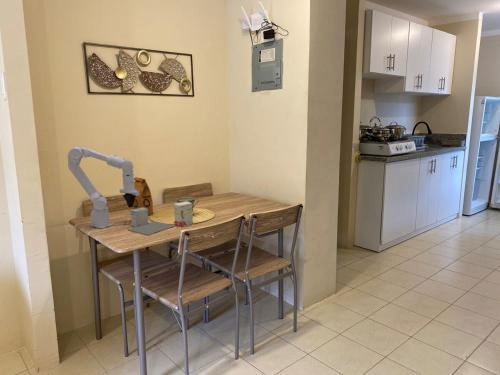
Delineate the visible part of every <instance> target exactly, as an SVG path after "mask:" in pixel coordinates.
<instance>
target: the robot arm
mask: <svg viewBox="0 0 500 375" xmlns="http://www.w3.org/2000/svg"><path fill="white" fill-rule="evenodd" d="M82 158H94V159H97V160H100V161H103V162H105V163H106V164H107V165H108V166H109V167H110V166H111V167H113V168H117V169H119V170H120V169H122V185H123V186H122V187H123V188H121V189H120V188H119V194H123V195H122V196H123V198H124V200H125V202H126V205H127V207H128V208H133V203H134V199H135V197H136V196H138V195H140V192H139V191H136V189H135V187H134V182H135V180H134V178H135V175H134V170H133V169H134V164H133V162H132V161H131V160H129V159H126V158H125V157H120V156H117V154H109V155H107V154H104V153H102V152H99V151H97V150H94V149H91V148H88V147H83V146H80V145H75V146H73V147H71V148H70V149H69V151H68V154H67V164H68V165H67V167H68V170H69V171H70V172H71V173H72V175H73V176H74V177H75V179H76V180H77V181H78V183H79V184H80V185H81V187H82V189H83V190H84V191H85V193H86V194H87V195H88V197H89V198H90V201H91V202H92V204H93V209H92V210H91V211H90V223H91V224H89V226H90V227H93V228H97V229H103V228H106V227H110V226H113V225H114V223H110V215H109V207H108V206H107V204H108V199H107V197H106V196H104V195H102V194H101V192H100V191H99V190H98V189H97V187H96V186H95V185H94V184H93V182H92V181H91V180H90V178H89V177H88V176H87V175H86V173H85V172H84V170H83V169H82V168H81V166H80V164H81V160H82Z"/></svg>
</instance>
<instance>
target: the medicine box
mask: <svg viewBox="0 0 500 375" xmlns="http://www.w3.org/2000/svg"><path fill="white" fill-rule="evenodd" d="M129 213H130V224H131V227H133V228H134V227H138V226H141V225H144V224H147V223H149V215H148V209H146V208H138V209H134V210H133V209H131V210H130V212H129Z"/></svg>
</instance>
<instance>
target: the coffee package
mask: <svg viewBox="0 0 500 375" xmlns="http://www.w3.org/2000/svg"><path fill="white" fill-rule="evenodd" d="M134 187H135V189H136V191H139V192H140V195H138V196H136V197H135V199H134V203H133V207H132V210H134V209H138V208H146V209H148V216H151V215H154V209H153V208H154V207H153V204H154V203H153V198H152V193H151V188H150V187H149V184H148V182H147V181H146V178H143V177H137V176H134Z"/></svg>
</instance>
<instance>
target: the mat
mask: <svg viewBox="0 0 500 375" xmlns="http://www.w3.org/2000/svg"><path fill="white" fill-rule="evenodd" d="M175 227H176V225H175V224H174V225H173V224H170V223H169V224H168V223H164V222H159V221H155V220H154V221H151V222H148V223H147V224H144V225H141V226H138V227H134V226H133V227H131V228H128V229H127V231H128V232H132V233H136V234H139V235H140V234H141V235H145V236H151V235H153V234H156V233H160V232H162V231H163V232H164V231H165V230H169V229H172V228H175Z"/></svg>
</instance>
